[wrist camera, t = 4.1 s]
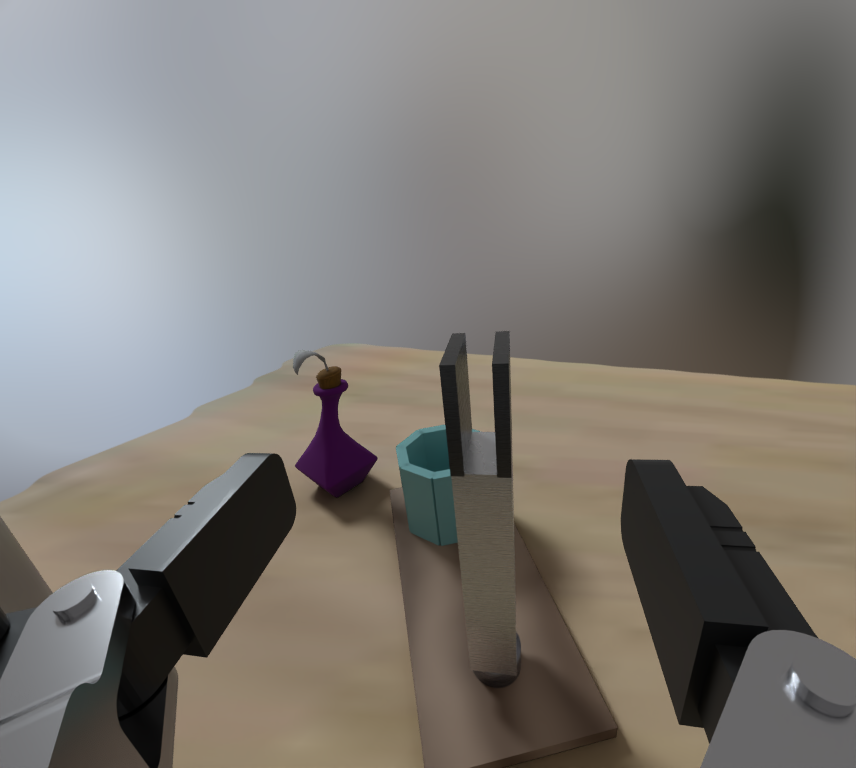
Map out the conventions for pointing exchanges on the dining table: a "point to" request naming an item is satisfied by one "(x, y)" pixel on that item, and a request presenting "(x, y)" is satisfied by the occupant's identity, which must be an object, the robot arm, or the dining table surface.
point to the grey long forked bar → (484, 513)
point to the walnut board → (464, 693)
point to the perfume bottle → (332, 438)
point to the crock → (428, 485)
